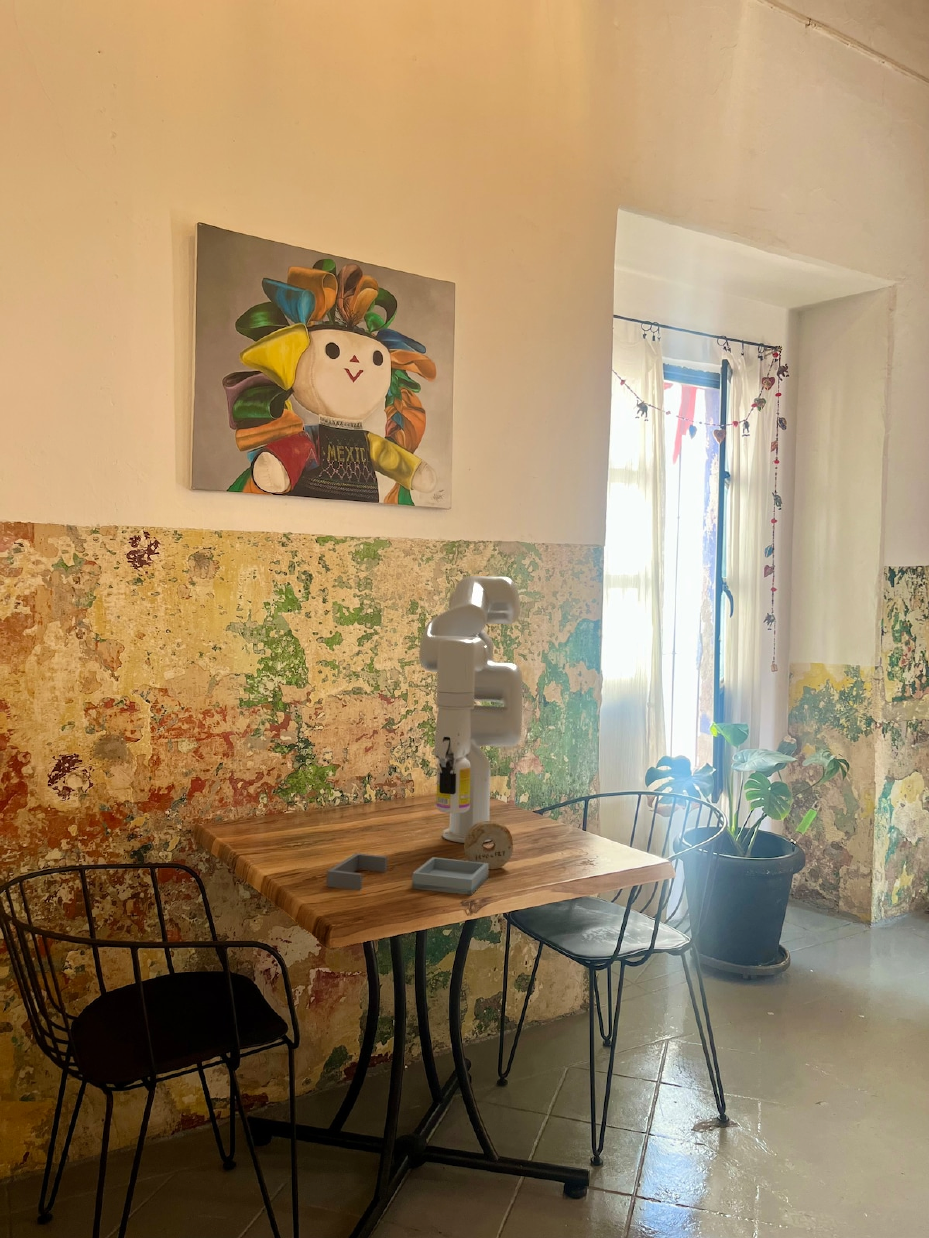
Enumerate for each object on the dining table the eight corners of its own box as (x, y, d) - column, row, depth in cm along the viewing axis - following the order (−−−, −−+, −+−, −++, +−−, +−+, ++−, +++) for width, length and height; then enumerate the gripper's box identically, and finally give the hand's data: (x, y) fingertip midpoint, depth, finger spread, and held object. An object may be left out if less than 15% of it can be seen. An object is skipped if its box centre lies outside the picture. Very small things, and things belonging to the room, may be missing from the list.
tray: (432, 871, 190) (432, 857, 190) (488, 877, 187) (488, 863, 187) (412, 888, 179) (412, 872, 179) (471, 895, 175) (471, 879, 175)
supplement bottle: (468, 806, 186) (470, 743, 186) (470, 814, 180) (471, 749, 179) (436, 806, 186) (437, 743, 186) (436, 813, 179) (437, 748, 179)
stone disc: (510, 865, 196) (511, 819, 196) (513, 870, 193) (514, 823, 193) (462, 865, 196) (463, 818, 196) (463, 870, 192) (465, 822, 192)
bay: (355, 867, 192) (356, 852, 192) (386, 870, 190) (387, 856, 190) (326, 886, 179) (327, 871, 179) (359, 890, 177) (360, 874, 177)
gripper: (450, 695, 192) (448, 780, 192) (423, 703, 175) (420, 796, 176) (485, 697, 190) (483, 783, 190) (460, 705, 173) (458, 800, 173)
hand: (453, 789), depth 183 cm, fingers closed on supplement bottle, 6 cm apart
